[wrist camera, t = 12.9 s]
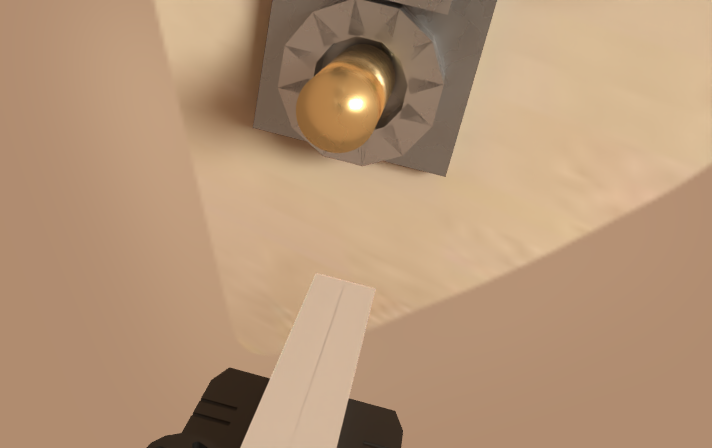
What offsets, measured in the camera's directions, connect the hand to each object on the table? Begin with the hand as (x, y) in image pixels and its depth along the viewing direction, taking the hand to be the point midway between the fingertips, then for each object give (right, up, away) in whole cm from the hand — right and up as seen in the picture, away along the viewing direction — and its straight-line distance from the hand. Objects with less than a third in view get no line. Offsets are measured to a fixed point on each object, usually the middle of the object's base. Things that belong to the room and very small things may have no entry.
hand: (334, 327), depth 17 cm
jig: (+2, +16, +25) cm, 30 cm away
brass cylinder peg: (+1, +12, +25) cm, 27 cm away
